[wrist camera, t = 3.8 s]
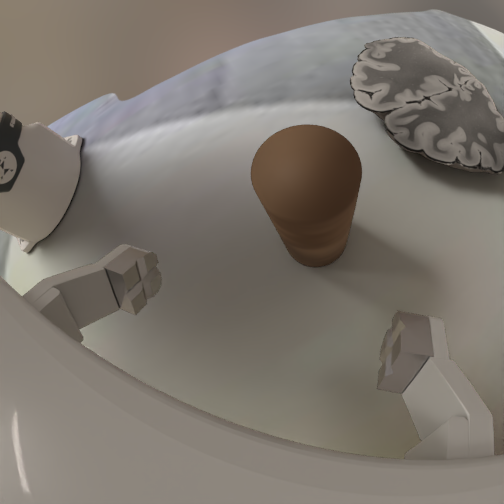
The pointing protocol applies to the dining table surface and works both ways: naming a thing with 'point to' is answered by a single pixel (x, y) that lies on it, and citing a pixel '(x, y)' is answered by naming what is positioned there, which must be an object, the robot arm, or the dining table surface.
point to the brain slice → (430, 104)
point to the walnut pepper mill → (309, 190)
